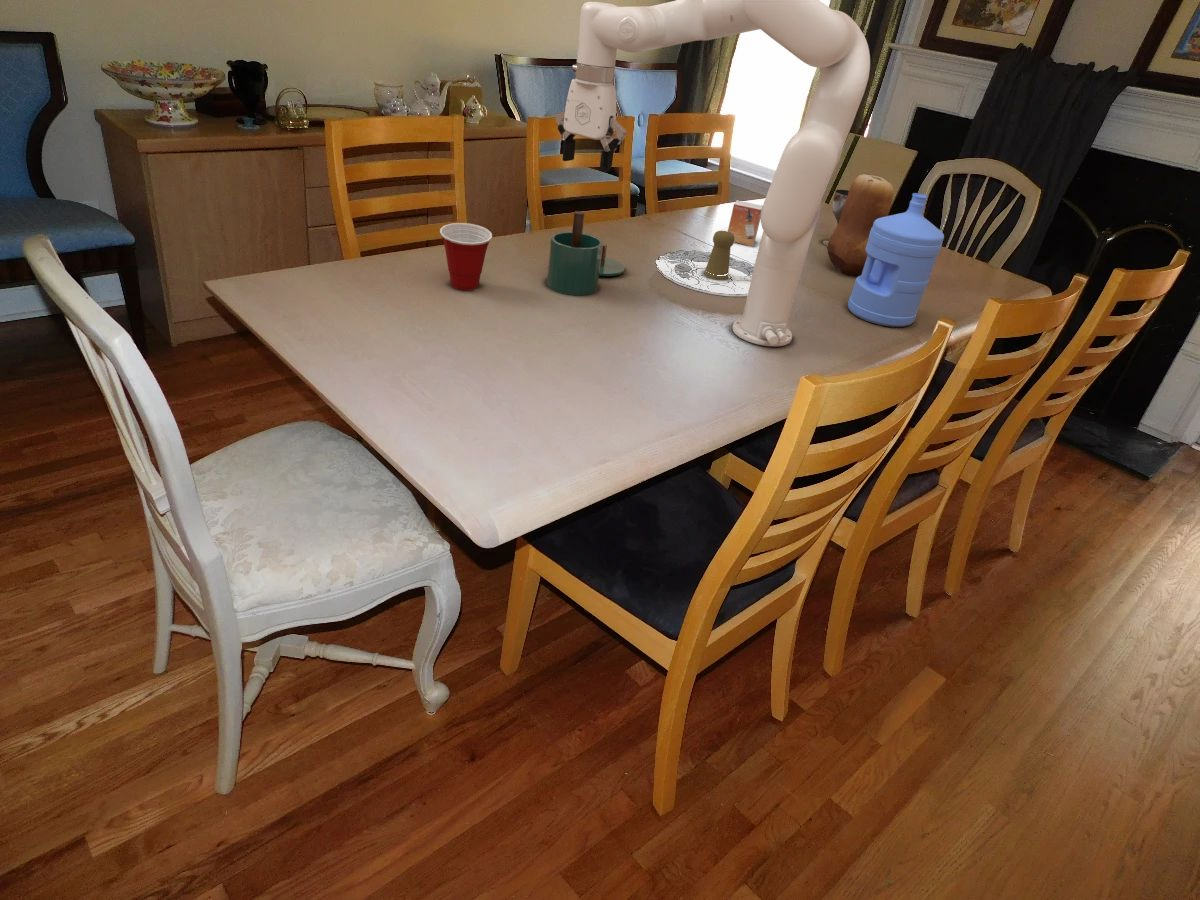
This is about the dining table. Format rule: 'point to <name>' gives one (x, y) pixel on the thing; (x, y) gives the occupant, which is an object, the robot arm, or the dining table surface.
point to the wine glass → (838, 205)
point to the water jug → (896, 267)
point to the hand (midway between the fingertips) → (586, 165)
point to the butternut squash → (859, 222)
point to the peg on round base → (577, 229)
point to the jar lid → (609, 265)
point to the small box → (745, 222)
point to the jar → (574, 264)
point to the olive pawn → (720, 255)
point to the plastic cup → (465, 253)
